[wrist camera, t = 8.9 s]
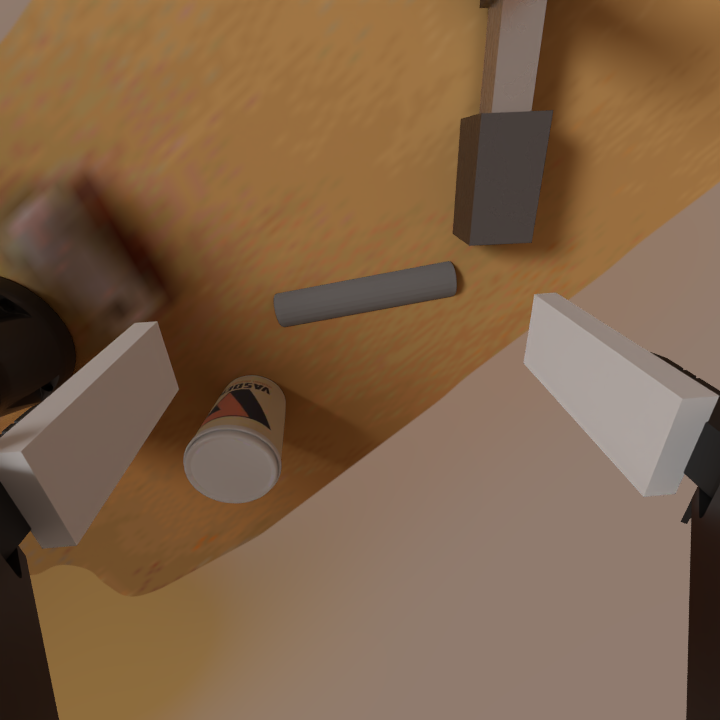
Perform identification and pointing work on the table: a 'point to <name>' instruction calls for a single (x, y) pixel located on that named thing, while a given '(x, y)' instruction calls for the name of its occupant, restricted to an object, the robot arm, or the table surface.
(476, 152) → the dark grey block
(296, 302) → the half round rod
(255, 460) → the coffee cup
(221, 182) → the table surface
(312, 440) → the table surface
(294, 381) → the table surface
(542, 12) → the sliding bar
